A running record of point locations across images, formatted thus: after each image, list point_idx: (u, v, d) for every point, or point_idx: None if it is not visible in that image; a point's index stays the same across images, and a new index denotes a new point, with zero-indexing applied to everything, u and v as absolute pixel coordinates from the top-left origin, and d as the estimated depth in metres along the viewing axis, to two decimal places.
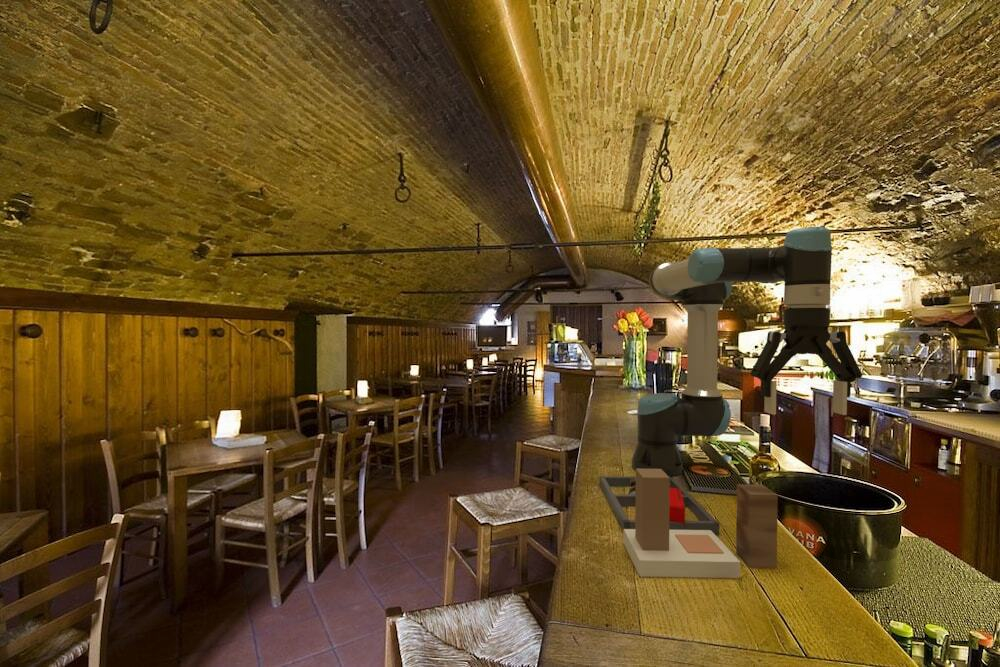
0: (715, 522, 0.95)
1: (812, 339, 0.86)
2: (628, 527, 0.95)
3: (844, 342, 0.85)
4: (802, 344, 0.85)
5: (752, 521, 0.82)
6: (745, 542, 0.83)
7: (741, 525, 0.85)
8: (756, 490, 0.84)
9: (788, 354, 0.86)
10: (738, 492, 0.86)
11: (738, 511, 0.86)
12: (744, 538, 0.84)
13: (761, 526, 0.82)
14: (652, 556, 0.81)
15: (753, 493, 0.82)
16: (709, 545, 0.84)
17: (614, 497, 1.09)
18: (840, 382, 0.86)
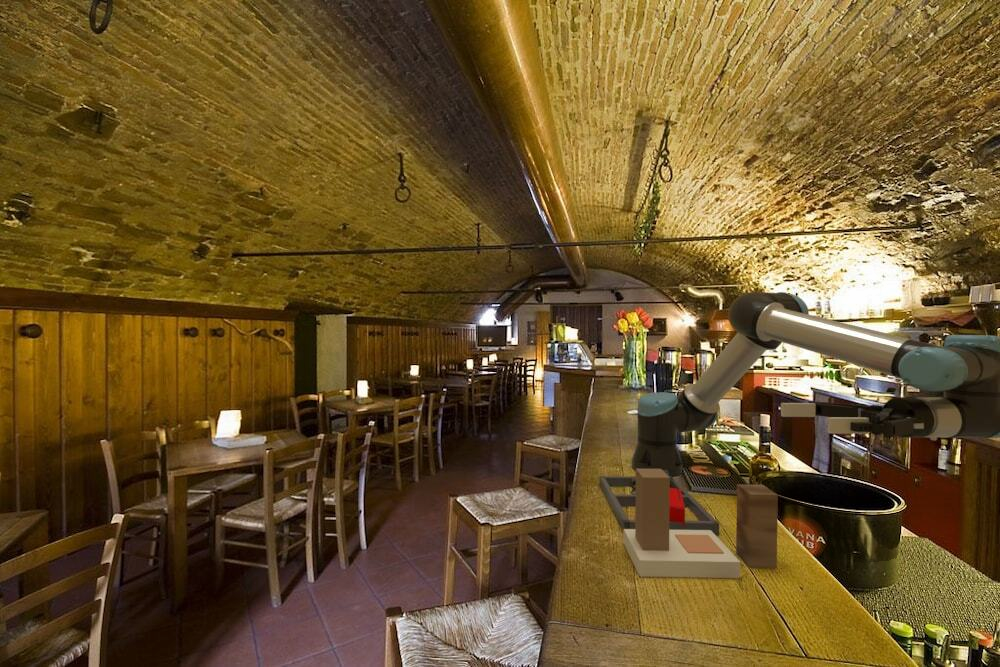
0: (715, 522, 0.95)
1: None
2: (628, 527, 0.95)
3: None
4: None
5: (752, 521, 0.82)
6: (745, 542, 0.83)
7: (741, 525, 0.85)
8: (756, 490, 0.84)
9: None
10: (738, 492, 0.86)
11: (738, 511, 0.86)
12: (744, 538, 0.84)
13: (761, 526, 0.82)
14: (652, 556, 0.81)
15: (753, 493, 0.82)
16: (709, 545, 0.84)
17: (614, 497, 1.09)
18: (814, 413, 0.90)
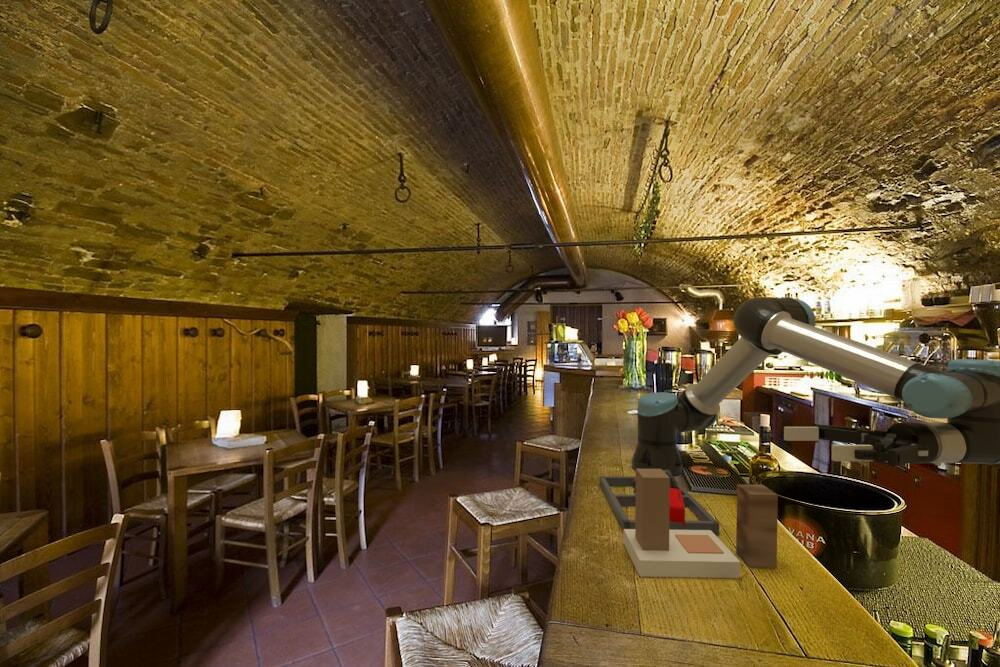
0: (715, 522, 0.95)
1: None
2: (628, 527, 0.95)
3: None
4: None
5: (752, 521, 0.82)
6: (745, 541, 0.83)
7: (741, 525, 0.85)
8: (756, 490, 0.84)
9: None
10: (738, 492, 0.86)
11: (738, 511, 0.86)
12: (744, 538, 0.84)
13: (761, 526, 0.82)
14: (652, 556, 0.81)
15: (753, 493, 0.82)
16: (709, 545, 0.84)
17: (614, 497, 1.09)
18: (817, 437, 0.89)
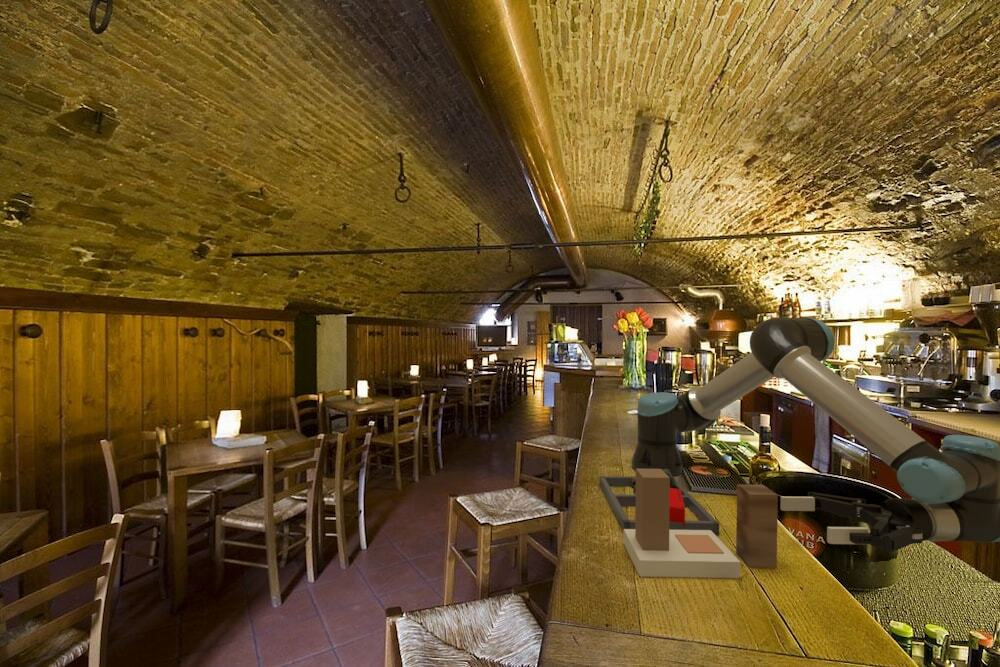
0: (715, 522, 0.95)
1: None
2: (628, 527, 0.95)
3: None
4: None
5: (752, 521, 0.82)
6: (745, 541, 0.83)
7: (741, 525, 0.85)
8: (756, 490, 0.84)
9: None
10: (738, 492, 0.86)
11: (738, 511, 0.86)
12: (744, 538, 0.84)
13: (761, 526, 0.82)
14: (652, 556, 0.81)
15: (753, 493, 0.82)
16: (709, 545, 0.84)
17: (614, 497, 1.09)
18: (813, 507, 0.90)
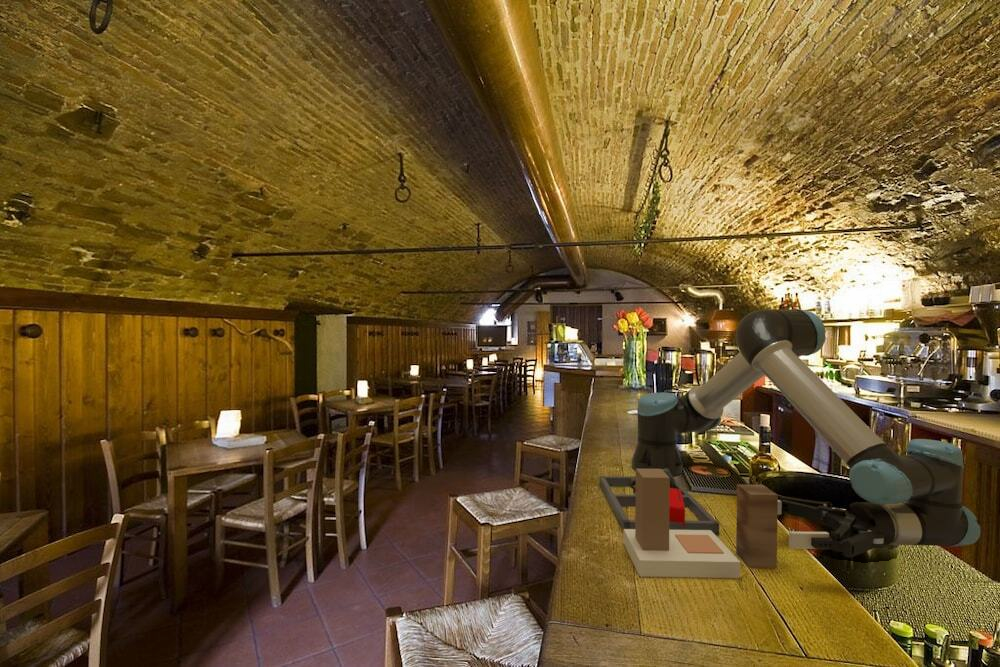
0: (715, 522, 0.95)
1: None
2: (628, 527, 0.95)
3: None
4: None
5: (752, 521, 0.82)
6: (745, 542, 0.83)
7: (741, 525, 0.85)
8: (756, 490, 0.84)
9: None
10: (738, 492, 0.86)
11: (738, 511, 0.86)
12: (744, 538, 0.84)
13: (761, 526, 0.82)
14: (652, 556, 0.81)
15: (753, 493, 0.82)
16: (709, 545, 0.84)
17: (614, 497, 1.09)
18: (780, 510, 0.90)
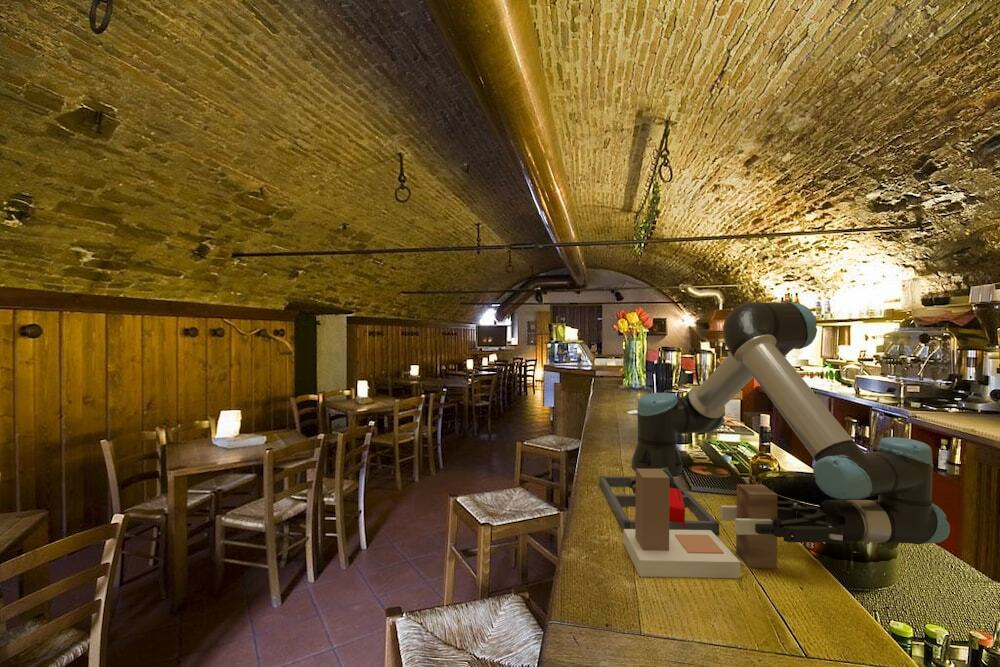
0: (715, 522, 0.95)
1: None
2: (628, 527, 0.95)
3: None
4: None
5: None
6: (745, 541, 0.83)
7: None
8: (756, 490, 0.84)
9: None
10: (738, 492, 0.86)
11: (738, 511, 0.86)
12: (744, 538, 0.84)
13: None
14: (652, 556, 0.81)
15: (753, 493, 0.82)
16: (709, 545, 0.84)
17: (614, 497, 1.09)
18: None
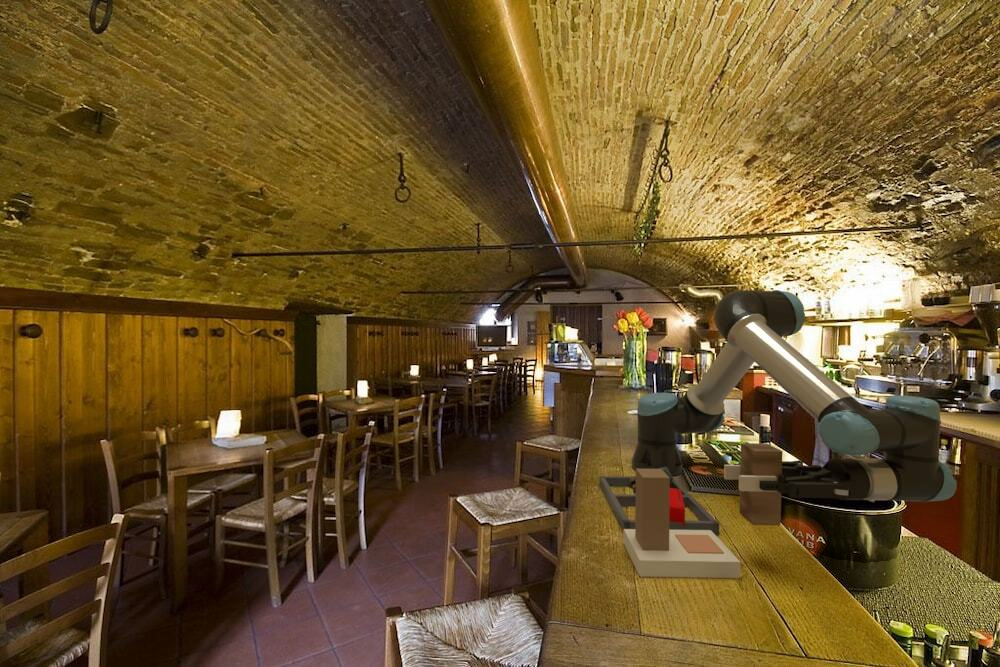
0: (715, 522, 0.95)
1: None
2: (628, 527, 0.95)
3: None
4: None
5: None
6: (749, 499, 0.83)
7: None
8: (760, 447, 0.83)
9: None
10: (742, 451, 0.85)
11: (742, 470, 0.85)
12: (748, 496, 0.83)
13: None
14: (652, 556, 0.81)
15: (757, 450, 0.81)
16: (709, 545, 0.84)
17: (614, 497, 1.09)
18: None
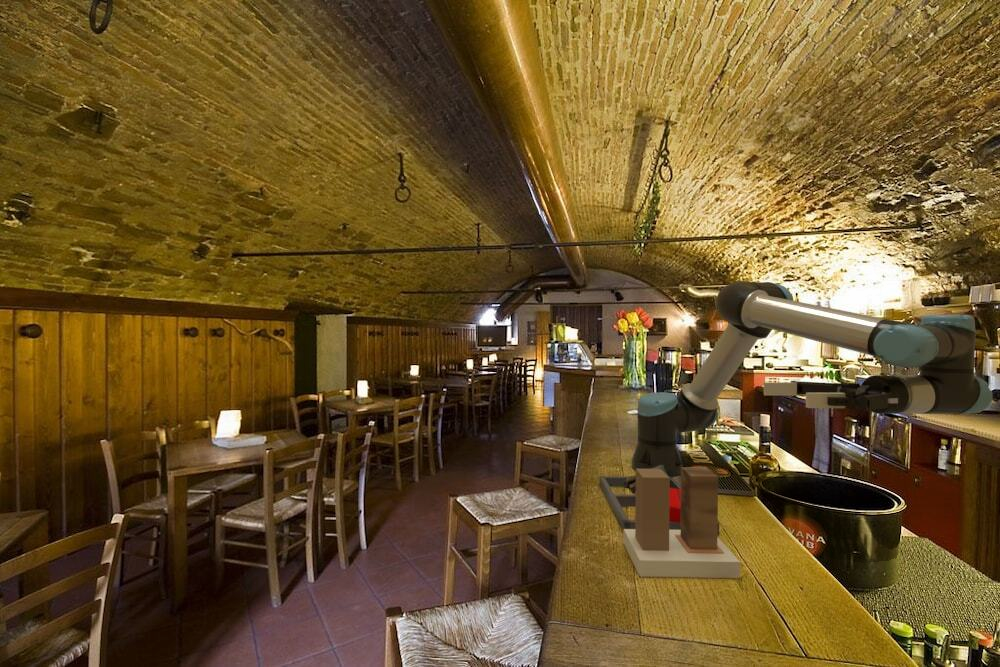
0: None
1: None
2: (628, 527, 0.95)
3: None
4: None
5: (693, 503, 0.82)
6: (687, 523, 0.84)
7: (684, 508, 0.85)
8: (698, 472, 0.84)
9: None
10: (682, 475, 0.87)
11: (682, 494, 0.87)
12: (686, 520, 0.84)
13: (702, 508, 0.82)
14: (652, 556, 0.81)
15: (694, 475, 0.82)
16: None
17: (614, 497, 1.09)
18: (795, 391, 0.93)
